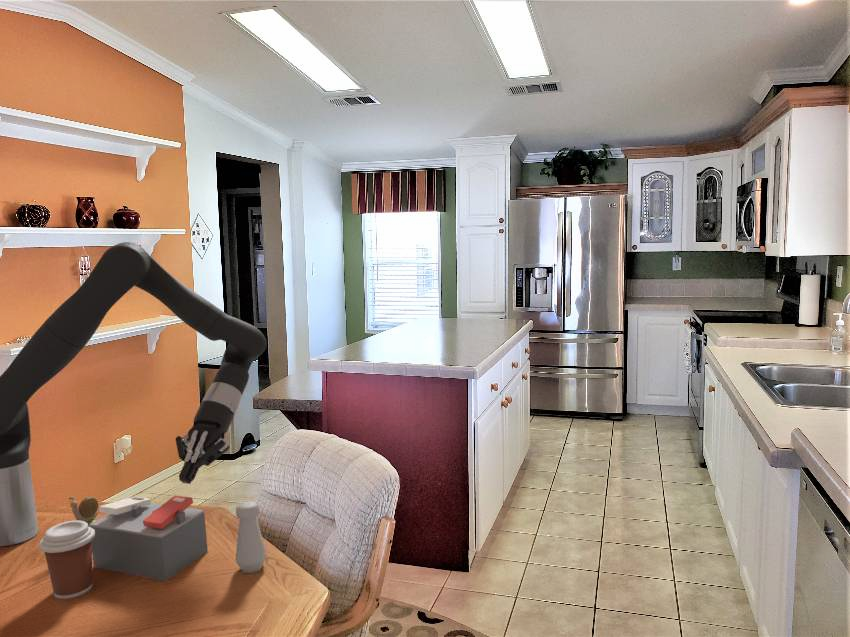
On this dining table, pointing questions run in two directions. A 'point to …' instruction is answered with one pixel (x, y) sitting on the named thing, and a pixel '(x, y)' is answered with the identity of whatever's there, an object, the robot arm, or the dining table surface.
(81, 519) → the snail figurine
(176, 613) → the dining table surface
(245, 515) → the salt shaker
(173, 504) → the red rocker
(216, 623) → the dining table surface
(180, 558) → the switch box
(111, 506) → the white rocker
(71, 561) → the coffee cup
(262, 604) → the dining table surface
